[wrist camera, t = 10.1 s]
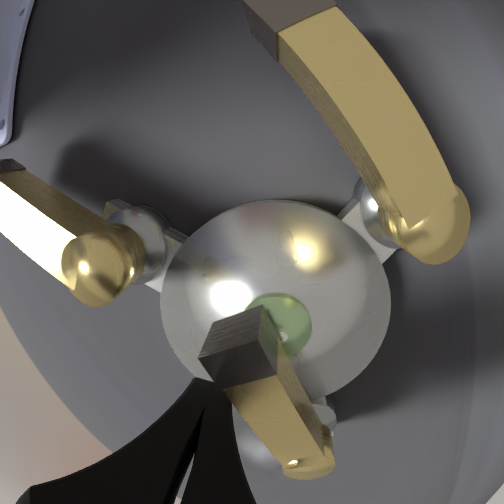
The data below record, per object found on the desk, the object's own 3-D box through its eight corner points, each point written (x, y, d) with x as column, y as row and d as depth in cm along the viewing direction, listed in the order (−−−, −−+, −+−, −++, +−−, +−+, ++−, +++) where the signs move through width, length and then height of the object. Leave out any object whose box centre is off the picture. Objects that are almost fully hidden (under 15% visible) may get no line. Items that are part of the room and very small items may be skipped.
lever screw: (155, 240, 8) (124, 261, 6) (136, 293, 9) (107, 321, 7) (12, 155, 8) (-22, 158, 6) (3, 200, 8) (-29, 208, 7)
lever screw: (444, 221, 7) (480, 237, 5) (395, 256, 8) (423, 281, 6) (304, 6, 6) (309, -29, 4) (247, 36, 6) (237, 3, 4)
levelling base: (95, 168, 9) (73, 169, 8) (431, 155, 8) (451, 155, 7) (153, 417, 13) (144, 435, 12) (383, 422, 12) (389, 441, 10)
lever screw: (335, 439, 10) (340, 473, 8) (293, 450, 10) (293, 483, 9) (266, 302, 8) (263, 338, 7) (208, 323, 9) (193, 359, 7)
